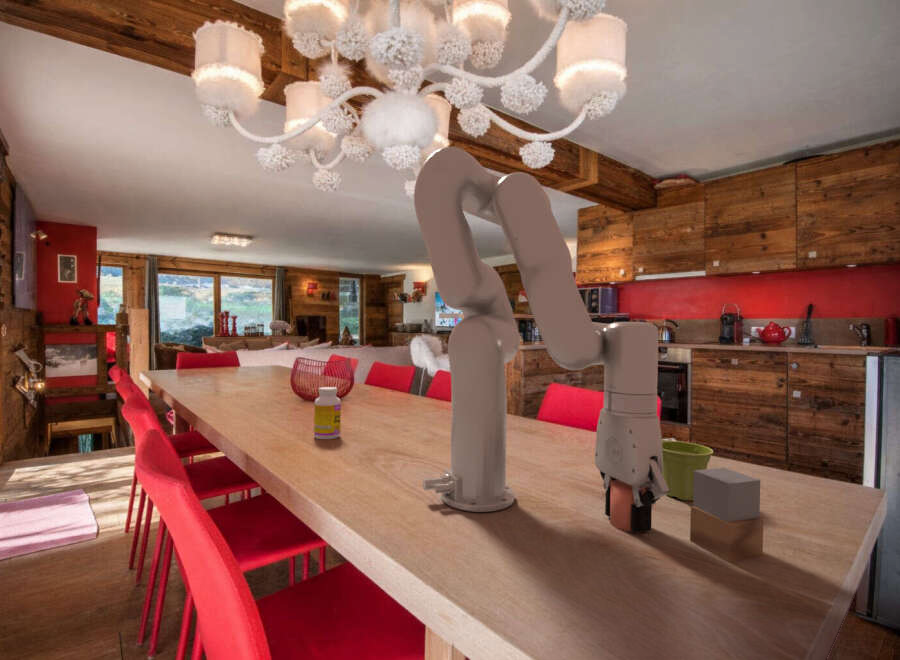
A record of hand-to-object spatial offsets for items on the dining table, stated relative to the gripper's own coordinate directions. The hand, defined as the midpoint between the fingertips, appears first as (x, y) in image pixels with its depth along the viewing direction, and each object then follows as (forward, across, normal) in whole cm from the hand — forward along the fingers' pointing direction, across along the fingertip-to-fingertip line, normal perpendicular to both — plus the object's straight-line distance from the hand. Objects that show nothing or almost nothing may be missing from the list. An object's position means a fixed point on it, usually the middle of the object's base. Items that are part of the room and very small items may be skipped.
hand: (627, 521), depth 68 cm
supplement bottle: (+1, -66, -40) cm, 77 cm away
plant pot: (+1, -7, +18) cm, 19 cm away
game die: (+1, -16, +24) cm, 29 cm away
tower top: (-4, +10, +8) cm, 13 cm away
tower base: (+1, +10, +8) cm, 13 cm away
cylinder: (+1, 0, 0) cm, 1 cm away
